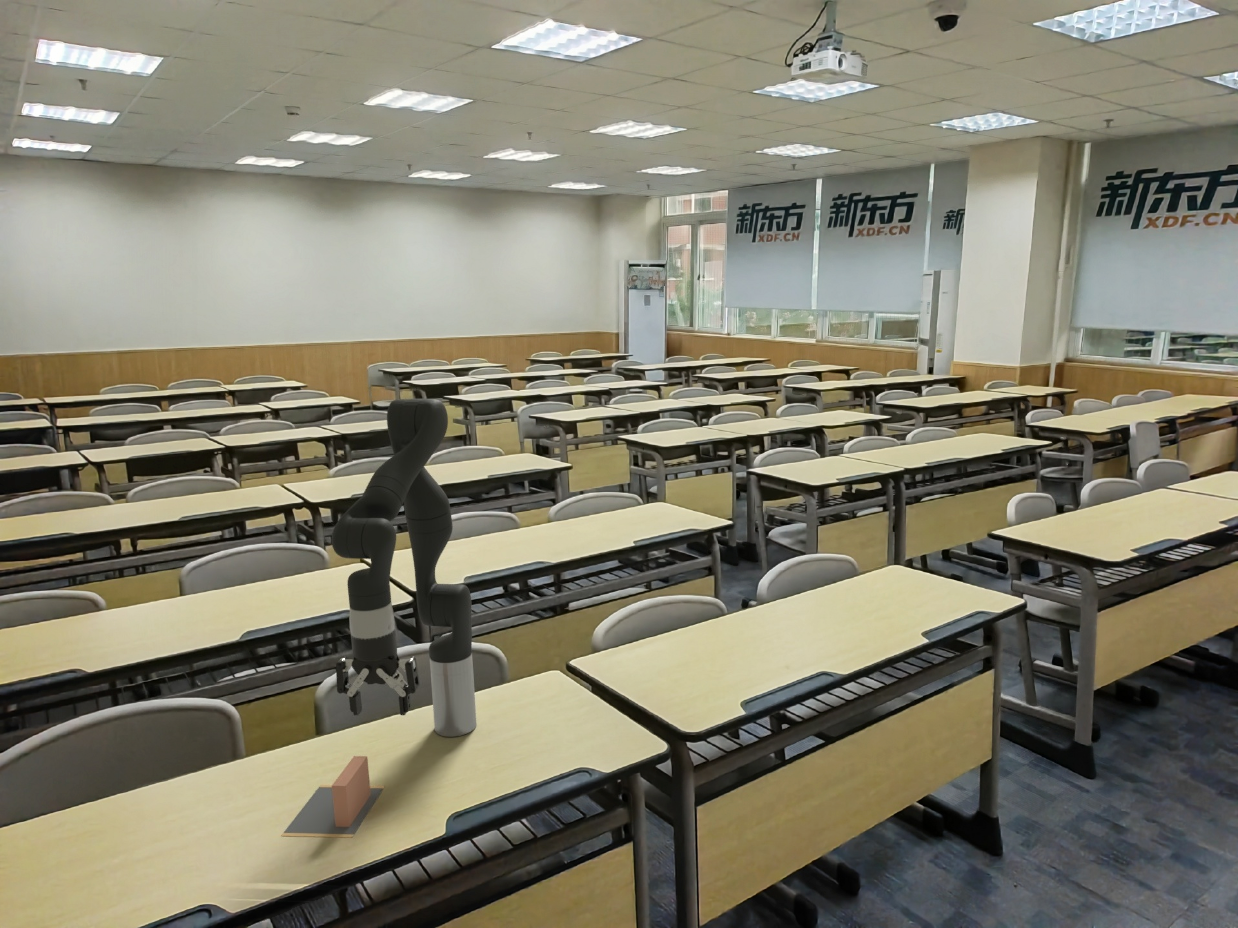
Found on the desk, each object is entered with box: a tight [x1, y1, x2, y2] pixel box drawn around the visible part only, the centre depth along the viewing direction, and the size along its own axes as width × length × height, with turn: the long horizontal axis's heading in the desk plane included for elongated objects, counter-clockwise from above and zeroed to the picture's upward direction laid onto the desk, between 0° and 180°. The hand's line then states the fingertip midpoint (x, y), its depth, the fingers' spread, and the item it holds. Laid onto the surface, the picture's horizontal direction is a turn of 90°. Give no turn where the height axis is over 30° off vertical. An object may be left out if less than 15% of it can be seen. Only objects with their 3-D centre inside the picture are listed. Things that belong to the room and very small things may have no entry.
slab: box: [331, 755, 371, 827], centre depth 150 cm, size 10×3×8 cm, turn 176°
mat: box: [280, 784, 386, 839], centre depth 151 cm, size 16×13×1 cm
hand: (380, 713), depth 146 cm, fingers open, 8 cm apart
